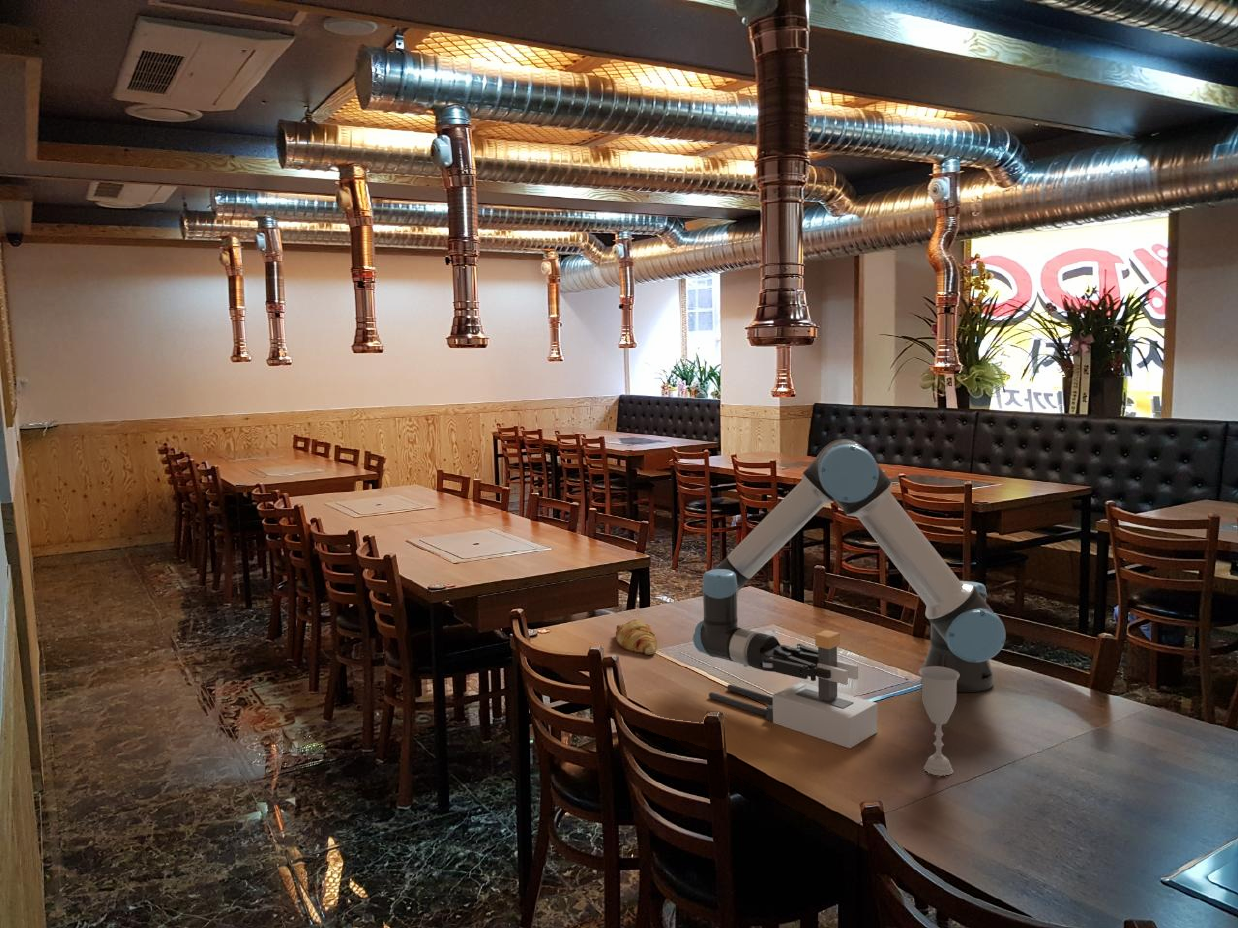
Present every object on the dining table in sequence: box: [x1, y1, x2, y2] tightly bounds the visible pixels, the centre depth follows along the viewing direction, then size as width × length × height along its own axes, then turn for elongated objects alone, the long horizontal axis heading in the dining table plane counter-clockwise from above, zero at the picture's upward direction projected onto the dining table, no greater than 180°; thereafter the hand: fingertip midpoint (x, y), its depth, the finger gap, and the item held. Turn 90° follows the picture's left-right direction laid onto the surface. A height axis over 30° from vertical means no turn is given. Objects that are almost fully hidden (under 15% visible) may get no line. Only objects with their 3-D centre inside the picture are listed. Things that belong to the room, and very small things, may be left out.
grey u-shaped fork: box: [708, 684, 773, 722], centre depth 190 cm, size 19×9×3 cm, turn 44°
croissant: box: [615, 619, 658, 656], centre depth 233 cm, size 21×10×8 cm, turn 26°
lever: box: [814, 629, 841, 701], centre depth 175 cm, size 3×4×13 cm
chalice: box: [918, 666, 960, 777], centre depth 156 cm, size 7×7×18 cm
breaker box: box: [772, 681, 878, 749], centre depth 177 cm, size 18×10×6 cm, turn 44°
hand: (851, 674), depth 171 cm, fingers closed on lever, 3 cm apart
